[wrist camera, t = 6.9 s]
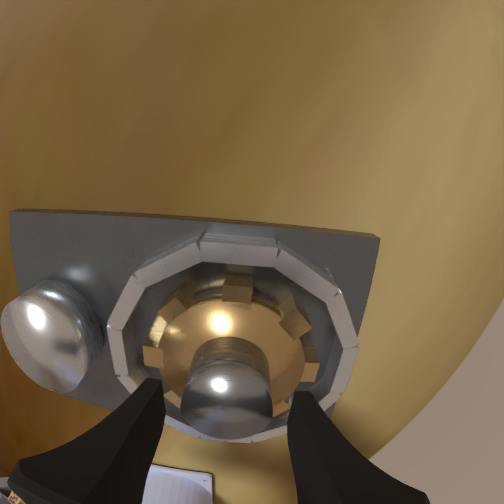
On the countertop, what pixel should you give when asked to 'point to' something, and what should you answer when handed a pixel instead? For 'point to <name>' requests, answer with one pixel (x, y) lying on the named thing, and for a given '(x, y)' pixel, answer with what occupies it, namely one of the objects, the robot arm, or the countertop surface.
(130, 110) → the countertop surface
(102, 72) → the countertop surface
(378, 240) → the gear carrier
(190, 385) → the planet gear
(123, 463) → the robot arm
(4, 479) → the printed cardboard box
